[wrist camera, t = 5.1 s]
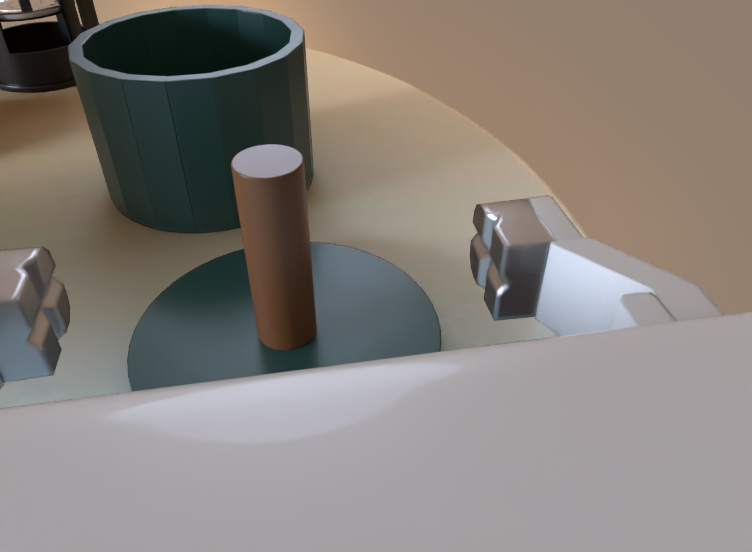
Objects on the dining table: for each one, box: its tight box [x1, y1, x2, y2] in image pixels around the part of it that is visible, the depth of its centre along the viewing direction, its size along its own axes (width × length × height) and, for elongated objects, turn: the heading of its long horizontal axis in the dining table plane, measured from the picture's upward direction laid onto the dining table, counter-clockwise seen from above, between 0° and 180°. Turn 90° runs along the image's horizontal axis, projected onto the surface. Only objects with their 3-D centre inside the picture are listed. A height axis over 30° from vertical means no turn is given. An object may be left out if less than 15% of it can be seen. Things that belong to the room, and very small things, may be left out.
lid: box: [127, 144, 441, 391], centre depth 28 cm, size 15×15×10 cm
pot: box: [68, 5, 313, 233], centre depth 41 cm, size 14×14×10 cm
